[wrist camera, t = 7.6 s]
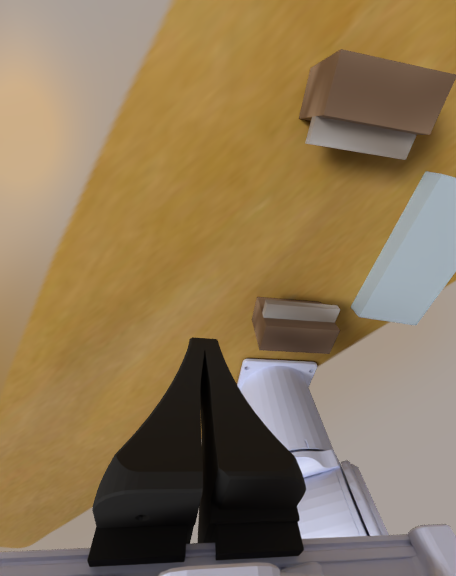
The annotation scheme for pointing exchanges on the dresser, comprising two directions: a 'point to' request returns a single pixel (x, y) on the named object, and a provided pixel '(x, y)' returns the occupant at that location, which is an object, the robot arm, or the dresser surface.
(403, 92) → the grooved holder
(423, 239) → the cover plate
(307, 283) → the dresser surface
